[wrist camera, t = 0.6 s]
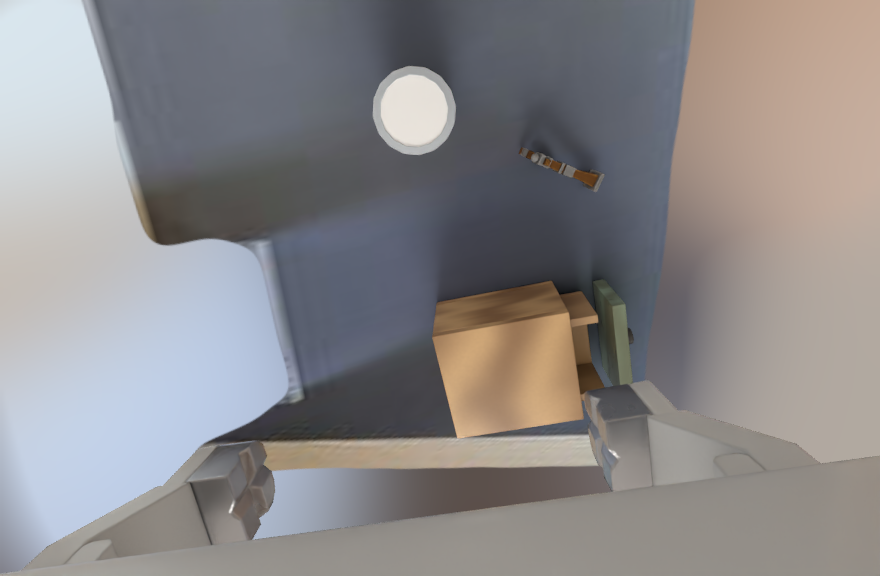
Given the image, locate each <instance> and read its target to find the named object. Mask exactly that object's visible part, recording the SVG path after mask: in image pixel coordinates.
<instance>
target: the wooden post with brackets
mask: <svg viewBox="0 0 880 576" xmlns="http://www.w3.org/2000/svg"><path fill="white" fill-rule="evenodd" d="M519 154H520V155H522V156H524V157H526V158H528V159H531V160H532V162H533V163H536V164H538V165H542V166H543V167H546V168H548V169H549V168H552V169H553V171H555V172H557V173H559V174H562V175H566V176H568V177H570V178H572V177H574V178H576V179H578V180H580V181H582V182H584V184H583V186H585V187H586V188H588V189H590V190H592V191H595V192H597V190H598V188H599V186H600V184H601V182H602V180H603V178H604V176H605V174H603V173H600V172H598V171H596V170H592V169H591V170H590V172H585V171H580V170H576V168H574V167H572V166H569V165H567V164H565V163H562V162H560V161H557V162H556V161H553V158H551V157H549V156H545V154H543V153H540V152H539V153H538V152H536V153H534V152H533V151H530V150H528V149H524V148H522V147H521V149H520V152H519Z"/></svg>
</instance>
